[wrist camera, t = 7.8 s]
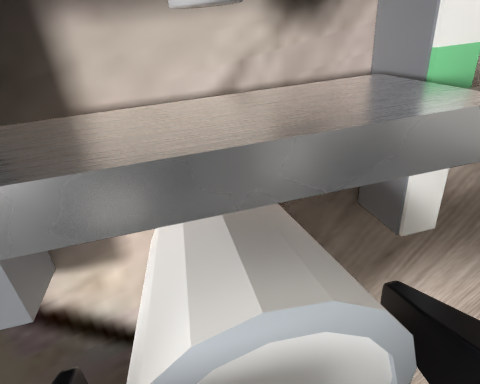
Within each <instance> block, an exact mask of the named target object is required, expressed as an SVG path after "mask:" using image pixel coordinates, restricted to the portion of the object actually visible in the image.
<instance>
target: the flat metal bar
mask: <svg viewBox="0 0 480 384" xmlns="http://www.w3.org/2000/svg"><path fill="white" fill-rule="evenodd" d="M476 162H480V86H476V87H470V88H459V87H454V86H448V85H442V84H436V83H430V82H425V81H419V80H413V79H407V78H401V77H395V76H390V75H384V74H372V75H365V76H358V77H350V78H343V79H336V80H329V81H322V82H314V83H307V84H300V85H293V86H286V87H278V88H271V89H264V90H257V91H249V92H242V93H235V94H228V95H221V96H213V97H206V98H199V99H192V100H185V101H177V102H170V103H163V104H156V105H148V106H141V107H134V108H127V109H120V110H112V111H105V112H98V113H91V114H84V115H76V116H69V117H62V118H55V119H47V120H40V121H33V122H26V123H19V124H11V125H4V126H0V260H5V259H10V258H14V257H19V256H24V255H29V254H34V253H39V252H44V251H48V250H53V249H58V248H63V247H68V246H73V245H78V244H83V243H87V242H92V241H97V240H102V239H107V238H112V237H117V236H121V235H126V234H131V233H136V232H141V231H146V230H151V229H155V228H160V227H165V226H170V225H175V224H180V223H185V222H189V221H194V220H199V219H204V218H209V217H214V216H219V215H223V214H228V213H233V212H238V211H243V210H248V209H253V208H257V207H262V206H267V205H272V204H277V203H282V202H287V201H291V200H296V199H301V198H306V197H311V196H316V195H321V194H325V193H330V192H335V191H340V190H345V189H350V188H355V187H359V186H364V185H369V184H374V183H379V182H384V181H389V180H393V179H398V178H403V177H408V176H413V175H418V174H423V173H427V172H432V171H437V170H442V169H447V168H452V167H457V166H461V165H466V164H471V163H476Z"/></svg>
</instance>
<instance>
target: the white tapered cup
mask: <svg viewBox="0 0 480 384" xmlns="http://www.w3.org/2000/svg"><path fill="white" fill-rule="evenodd" d="M416 369H417V366H416V357H415V349H414V340H413V335H412V334H411V333H410V332H409V331H408V330H407V329H406V328H405V327H404V326H403V325H402V324H401V323H400V322H399V321H398V320H397V319H396V318H394V317H393V316H392V315H391V314H390V313H389V312H388V311H387V310H386V309H385V308H384V307H383V306H382V305H381V304H380V303H379V302H378V301H377V300H376V299H375V298H374V297H373V296H372V295H371V294H370V293H369V292H368V291H367V290H366V289H365V288H364V287H363V286H362V285H361V284H360V283H359V282H358V281H357V280H356V279H355V278H354V277H353V276H352V275H350V274H349V273H348V272H347V271H346V270H345V269H344V268H343V267H342V266H341V265H340V264H339V263H338V262H337V261H336V260H335V259H334V258H333V257H332V256H331V255H330V254H329V253H328V252H327V251H326V250H325V249H324V248H323V247H322V246H321V245H320V244H319V243H318V242H317V241H316V240H315V239H314V238H313V237H312V236H311V235H310V234H309V233H308V232H306V231H305V230H304V229H303V228H302V227H301V226H300V225H299V224H298V223H297V222H296V221H295V220H294V219H293V218H292V217H291V216H290V215H289V214H288V213H287V212H286V211H285V210H284V209H283V208H282V207H281V206H280V205H279V204H278V203H277V204H272V205H267V206H262V207H257V208H253V209H248V210H243V211H238V212H233V213H228V214H223V215H219V216H214V217H209V218H204V219H199V220H194V221H189V222H185V223H180V224H175V225H170V226H165V227H160V228H156V229H155V232H154V234H153V237H152V240H151V246H150V251H149V257H148V263H147V269H146V274H145V280H144V286H143V292H142V298H141V303H140V309H139V315H138V321H137V326H136V332H135V338H134V344H133V349H132V355H131V361H130V367H129V373H128V378H127V384H410V383H411V380H412V378H413V376H414V373H415V371H416Z"/></svg>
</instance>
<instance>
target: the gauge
mask: <svg viewBox="0 0 480 384" xmlns="http://www.w3.org/2000/svg"><path fill="white" fill-rule="evenodd" d="M242 1H243V0H168V4H169V8H171V9H185V8H200V7H210V6H219V5H226V4H233V3H238V2H242ZM479 54H480V0H378V8H377V18H376V28H375V38H374V48H373V58H372V68H371V75H372V74H384V75H390V76H395V77H401V78H407V79H413V80H419V81H425V82H430V83H436V84H442V85H448V86H454V87H459V88H470V87H471V86H472V82H473V78H474V74H475V70H476V66H477V62H478V58H479ZM448 171H449V168H447V169H442V170H437V171H432V172H427V173H423V174H418V175H413V176H408V177H403V178H398V179H393V180H389V181H384V182H379V183H374V184H369V185H364V186H360V188H359V198H358V203H359V204H360V205H361V206H362V207H364V208H365V209H366V210H367V211H368V212H370V213H371V214H372V215H373V216H374V217H376V218H377V219H378V220H379V221H381V222H382V223H383V224H384V225H385V226H387V227H388V228H389V229H390V230H391V231H393V232H394V233H395V234H399V235H401V236H405V235H409V234H413V233H418V232H422V231H426V230H430V229H434V228H435V225H436V221H437V217H438V213H439V209H440V204H441V200H442V196H443V192H444V188H445V184H446V180H447V175H448ZM55 269H56V268H55V266H54V264H53V261H52V259H51V257H50V255H49V253H48V251H44V252H39V253H34V254H29V255H24V256H19V257H14V258H10V259H5V260H0V330H1V329H5V328H10V327H14V326H18V325H22V324H26V323H30V322H33V321H34V319H35V316H36V314H37V312H38V309H39V307H40V304H41V302H42V300H43V297H44V295H45V293H46V290H47V288H48V285H49V283H50V281H51V278H52V276H53V273H54V271H55Z"/></svg>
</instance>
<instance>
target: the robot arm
mask: <svg viewBox="0 0 480 384" xmlns="http://www.w3.org/2000/svg"><path fill="white" fill-rule="evenodd" d="M381 305H382V306H383V307H384V308H385V309H386V310H387V311H388V312H389V313H390V314H391V315H392V316H393V317H394V318H396V319H397V320H398V321H399V322H400V323H401V324H402V325H403V326H404V327H405V328H406V329H407V330H408V331H409V332H410V333H411V334H412V335H413V340H414V349H415V357H416V366H417V367H418V369H419V370H420V371H421V373H422V374H423V376H424V377H425V378H426V380H427V381H428V383H429V384H480V320H478V319H476V318H474V317H471V316H469V315H467V314H465V313H463V312H461V311H459V310H457V309H455V308H453V307H451V306H449V305H447V304H445V303H443V302H441V301H439V300H437V299H435V298H433V297H430V296H428V295H426V294H424V293H422V292H420V291H418V290H416V289H414V288H412V287H410V286H408V285H406V284H404V283H402V282H400V281H391V282H387V283H385V284H384V285H383V290H382V296H381ZM52 384H88V382H87V380H86V379H85V377H84V375H83V373H82V371H81V369H80V368H79V367H72V368H69V369H65V370H62V371H61V372H60V373H59V374H58V375H57V377H56V378H55V380H54V381H53V382H52Z"/></svg>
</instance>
